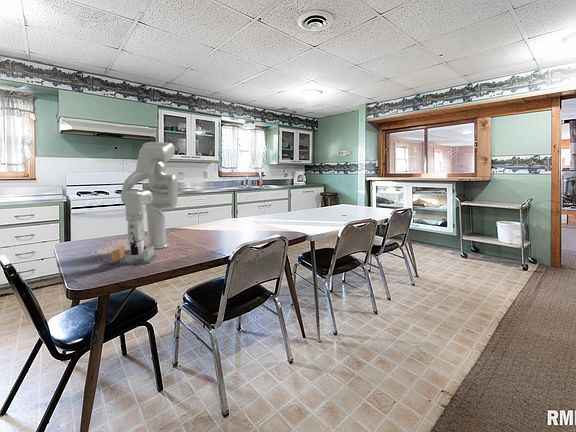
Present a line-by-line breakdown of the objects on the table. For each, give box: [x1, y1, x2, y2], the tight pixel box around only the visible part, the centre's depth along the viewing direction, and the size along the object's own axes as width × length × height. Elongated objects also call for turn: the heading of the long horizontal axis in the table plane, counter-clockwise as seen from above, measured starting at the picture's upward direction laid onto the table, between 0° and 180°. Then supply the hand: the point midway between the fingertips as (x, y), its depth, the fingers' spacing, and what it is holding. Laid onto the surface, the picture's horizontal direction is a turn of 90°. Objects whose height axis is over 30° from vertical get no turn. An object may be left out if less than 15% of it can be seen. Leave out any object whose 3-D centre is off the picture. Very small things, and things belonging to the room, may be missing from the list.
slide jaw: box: [111, 245, 126, 262], centre depth 150 cm, size 2×10×5 cm, turn 8°
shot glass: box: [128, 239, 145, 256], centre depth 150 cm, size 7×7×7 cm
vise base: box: [108, 246, 158, 266], centre depth 151 cm, size 18×12×6 cm, turn 98°
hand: (137, 252), depth 151 cm, fingers closed on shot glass, 6 cm apart
